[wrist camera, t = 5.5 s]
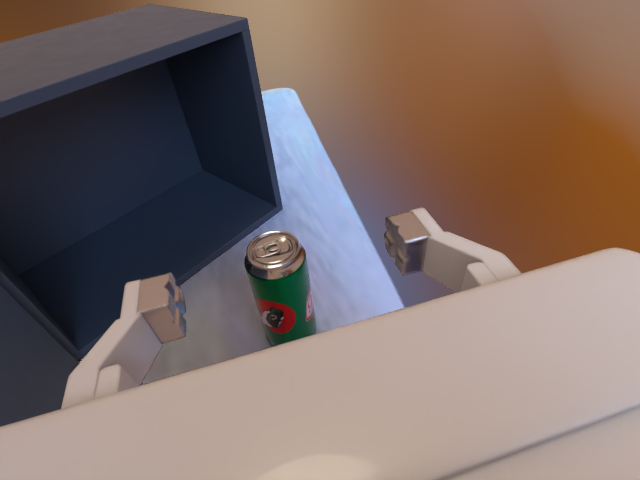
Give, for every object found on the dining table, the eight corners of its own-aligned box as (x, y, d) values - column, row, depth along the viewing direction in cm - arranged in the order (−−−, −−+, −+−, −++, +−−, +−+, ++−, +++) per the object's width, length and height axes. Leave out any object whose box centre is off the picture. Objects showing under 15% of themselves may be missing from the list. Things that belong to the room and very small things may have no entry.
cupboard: (282, 208, 54) (247, 17, 37) (74, 363, 38) (-146, 150, 21) (205, 170, 63) (150, 3, 46) (12, 281, 47) (-175, 89, 31)
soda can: (323, 343, 37) (312, 259, 29) (274, 361, 36) (248, 279, 28) (307, 305, 41) (293, 220, 33) (262, 321, 40) (236, 237, 32)
